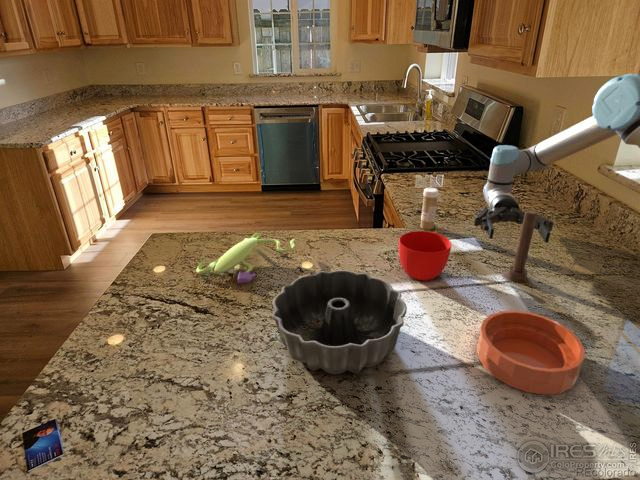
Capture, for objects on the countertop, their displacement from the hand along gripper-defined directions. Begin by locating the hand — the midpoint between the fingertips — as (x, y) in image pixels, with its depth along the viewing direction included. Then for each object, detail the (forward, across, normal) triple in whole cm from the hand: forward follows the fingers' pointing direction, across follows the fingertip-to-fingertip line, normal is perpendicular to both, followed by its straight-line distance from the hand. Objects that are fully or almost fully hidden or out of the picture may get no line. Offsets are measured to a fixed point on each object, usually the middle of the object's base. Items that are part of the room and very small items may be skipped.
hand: (519, 235), depth 110 cm
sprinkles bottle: (-24, +21, -11) cm, 34 cm away
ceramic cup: (+5, +23, -11) cm, 26 cm away
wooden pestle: (+5, 0, -10) cm, 12 cm away
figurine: (+8, +71, -11) cm, 72 cm away
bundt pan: (+38, +42, -11) cm, 57 cm away
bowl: (+37, +5, -10) cm, 39 cm away
